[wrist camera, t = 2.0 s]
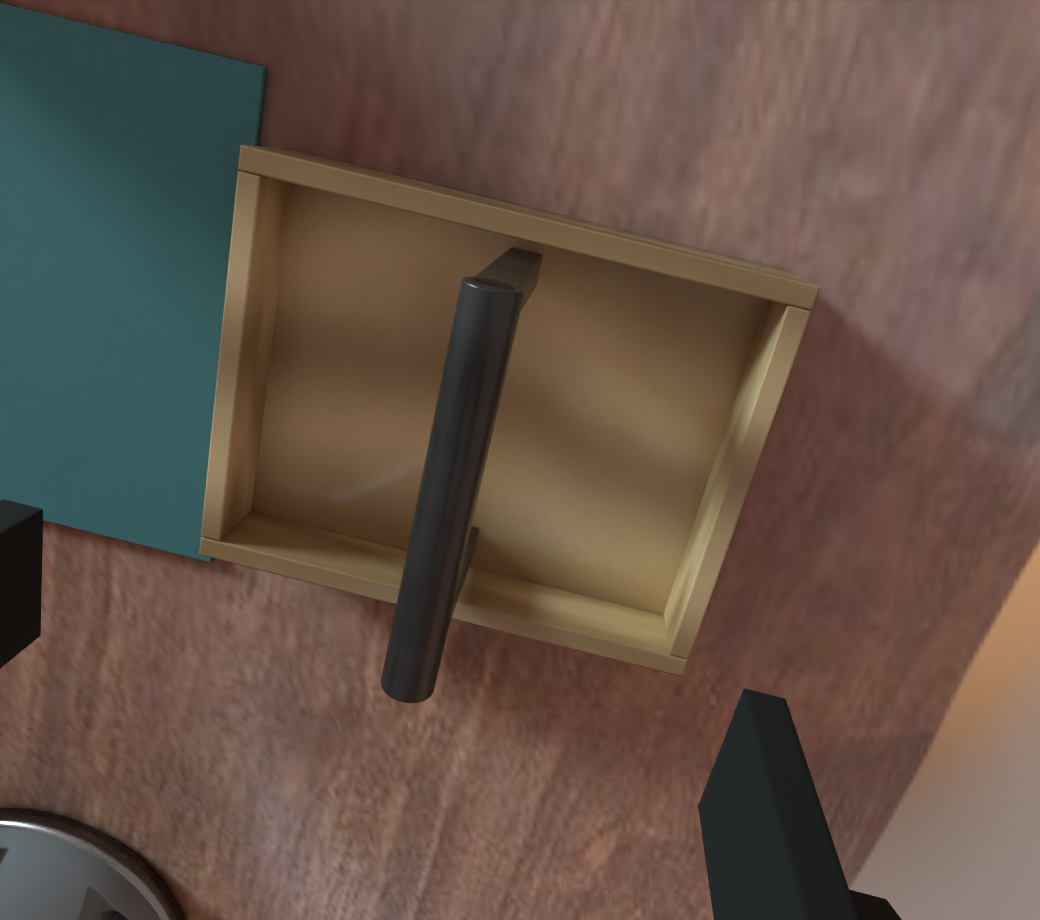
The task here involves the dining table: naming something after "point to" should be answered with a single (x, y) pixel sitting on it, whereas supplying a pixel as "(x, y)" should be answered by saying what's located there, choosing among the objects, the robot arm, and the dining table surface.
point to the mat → (114, 271)
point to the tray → (564, 422)
